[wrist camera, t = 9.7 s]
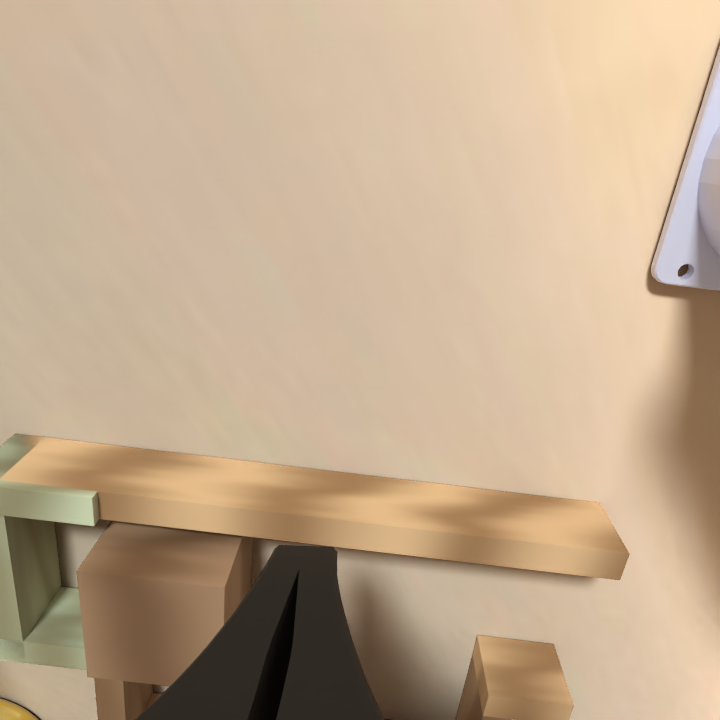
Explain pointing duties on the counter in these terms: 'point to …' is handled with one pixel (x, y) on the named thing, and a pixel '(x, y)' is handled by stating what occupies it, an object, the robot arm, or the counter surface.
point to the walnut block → (158, 598)
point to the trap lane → (287, 523)
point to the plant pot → (14, 712)
